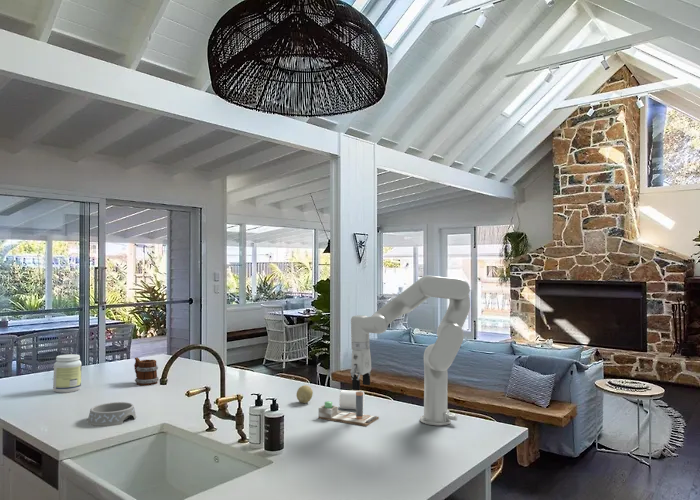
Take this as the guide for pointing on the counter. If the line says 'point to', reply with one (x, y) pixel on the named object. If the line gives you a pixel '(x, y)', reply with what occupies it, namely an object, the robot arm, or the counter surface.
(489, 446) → the counter surface
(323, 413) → the cream tray
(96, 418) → the dog bowl
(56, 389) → the supplement tub
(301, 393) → the potato
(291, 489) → the counter surface
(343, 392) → the mug
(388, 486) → the counter surface
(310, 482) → the counter surface
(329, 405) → the button
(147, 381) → the mug
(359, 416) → the cylinder
